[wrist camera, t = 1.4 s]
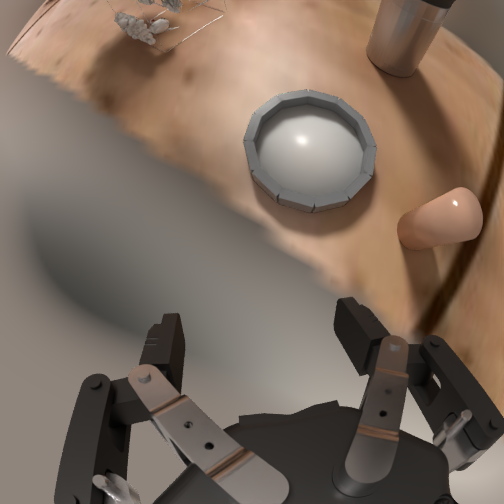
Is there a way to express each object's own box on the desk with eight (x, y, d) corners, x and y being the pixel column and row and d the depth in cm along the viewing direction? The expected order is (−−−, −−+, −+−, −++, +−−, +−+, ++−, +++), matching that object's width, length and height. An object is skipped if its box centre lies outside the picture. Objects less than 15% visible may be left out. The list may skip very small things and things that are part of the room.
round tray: (266, 92, 34) (265, 80, 31) (374, 122, 32) (381, 111, 29) (232, 191, 34) (227, 184, 31) (356, 227, 32) (363, 222, 29)
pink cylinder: (400, 207, 31) (448, 179, 19) (430, 219, 31) (483, 198, 19) (393, 243, 31) (443, 230, 19) (424, 254, 30) (480, 246, 19)
